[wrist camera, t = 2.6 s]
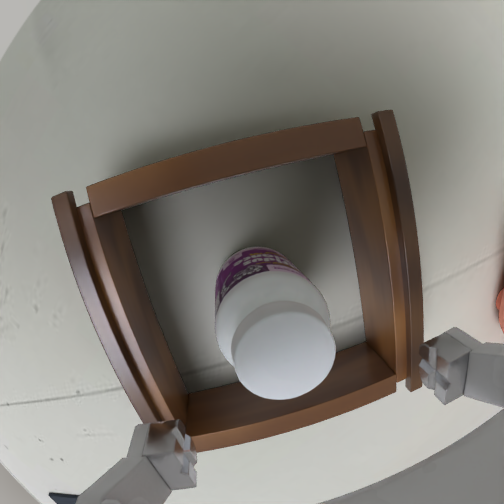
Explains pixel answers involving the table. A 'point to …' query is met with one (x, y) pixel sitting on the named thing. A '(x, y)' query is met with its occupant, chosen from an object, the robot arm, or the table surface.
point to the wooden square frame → (366, 258)
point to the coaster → (63, 498)
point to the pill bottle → (272, 324)
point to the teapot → (501, 308)
